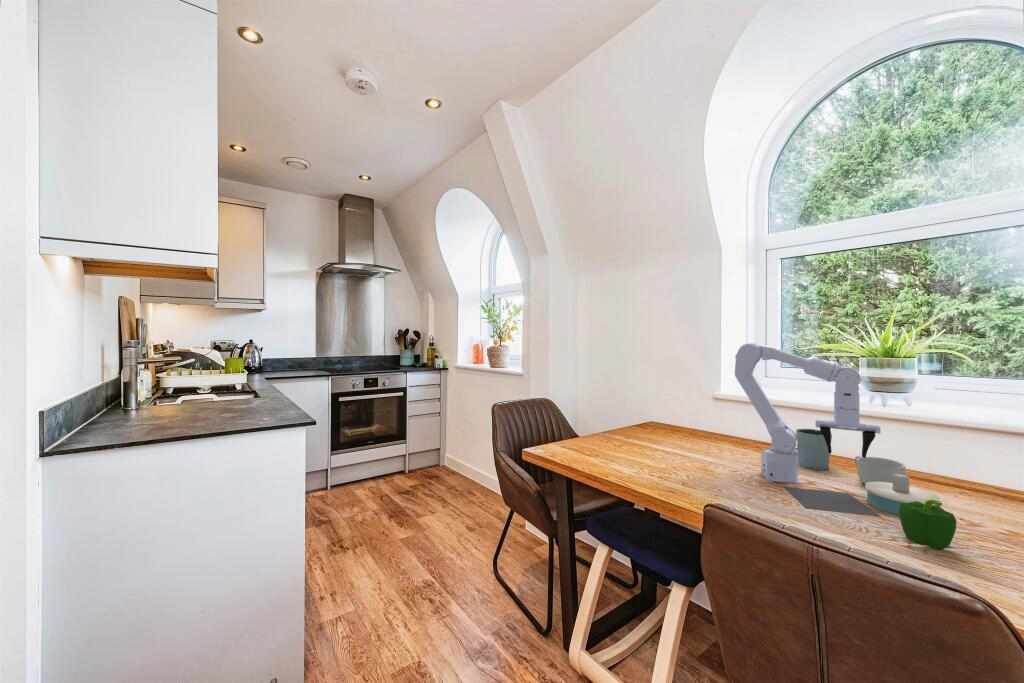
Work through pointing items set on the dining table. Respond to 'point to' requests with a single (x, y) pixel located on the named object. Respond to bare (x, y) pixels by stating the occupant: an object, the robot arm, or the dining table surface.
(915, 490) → the lid
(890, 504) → the bowl
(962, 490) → the dining table surface
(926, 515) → the bell pepper
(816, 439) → the teal cup
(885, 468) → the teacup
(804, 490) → the mat
